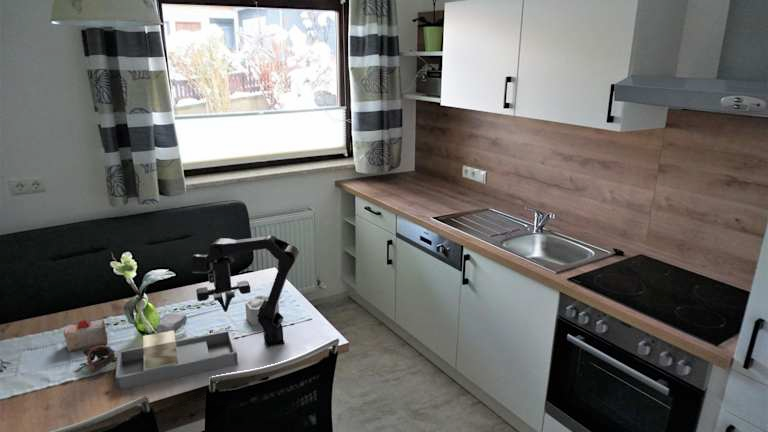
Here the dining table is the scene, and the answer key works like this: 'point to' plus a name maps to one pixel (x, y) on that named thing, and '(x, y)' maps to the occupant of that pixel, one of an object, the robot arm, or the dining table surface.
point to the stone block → (171, 322)
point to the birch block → (160, 349)
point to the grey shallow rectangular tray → (191, 360)
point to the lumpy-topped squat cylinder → (255, 308)
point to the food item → (85, 335)
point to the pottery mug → (99, 356)
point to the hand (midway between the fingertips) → (225, 311)
